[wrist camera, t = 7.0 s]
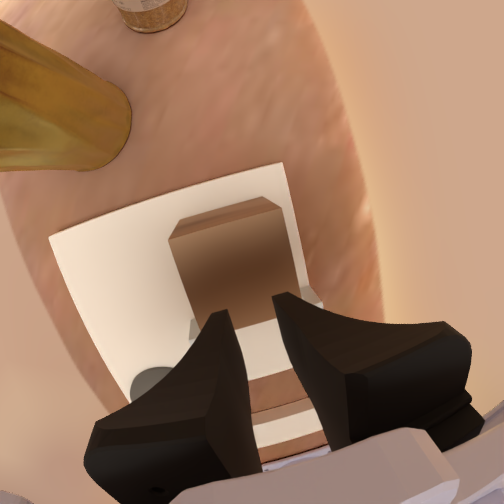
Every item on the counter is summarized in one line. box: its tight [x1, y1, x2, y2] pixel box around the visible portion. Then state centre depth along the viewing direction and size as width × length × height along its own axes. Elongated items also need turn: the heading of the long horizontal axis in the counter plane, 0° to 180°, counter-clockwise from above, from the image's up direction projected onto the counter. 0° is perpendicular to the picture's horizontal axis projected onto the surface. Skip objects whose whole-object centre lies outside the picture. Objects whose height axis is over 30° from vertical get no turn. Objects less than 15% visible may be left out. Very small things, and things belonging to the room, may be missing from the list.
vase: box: [0, 19, 131, 172], centre depth 9 cm, size 6×6×14 cm
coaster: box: [130, 367, 173, 402], centre depth 21 cm, size 6×6×1 cm
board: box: [48, 162, 323, 448], centre depth 21 cm, size 23×16×2 cm
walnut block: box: [168, 196, 302, 331], centre depth 16 cm, size 5×5×5 cm
